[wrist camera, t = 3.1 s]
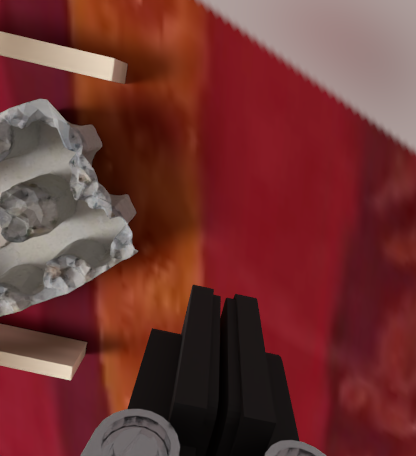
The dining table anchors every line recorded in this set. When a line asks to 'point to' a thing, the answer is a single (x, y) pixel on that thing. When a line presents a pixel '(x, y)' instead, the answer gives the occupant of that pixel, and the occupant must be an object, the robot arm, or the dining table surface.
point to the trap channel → (23, 338)
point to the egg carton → (54, 208)
